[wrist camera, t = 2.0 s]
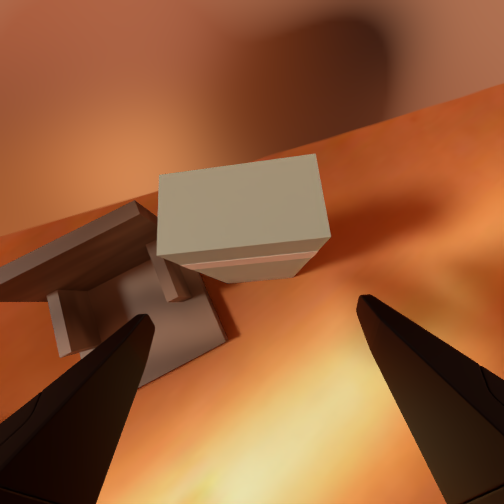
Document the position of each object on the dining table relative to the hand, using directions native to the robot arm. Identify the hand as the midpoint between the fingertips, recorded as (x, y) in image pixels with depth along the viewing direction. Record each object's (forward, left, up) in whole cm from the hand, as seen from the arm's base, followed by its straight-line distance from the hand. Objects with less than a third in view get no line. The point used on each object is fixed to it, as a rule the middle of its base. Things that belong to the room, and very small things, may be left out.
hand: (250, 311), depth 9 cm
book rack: (+11, +5, -11) cm, 16 cm away
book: (+2, -4, -11) cm, 12 cm away
